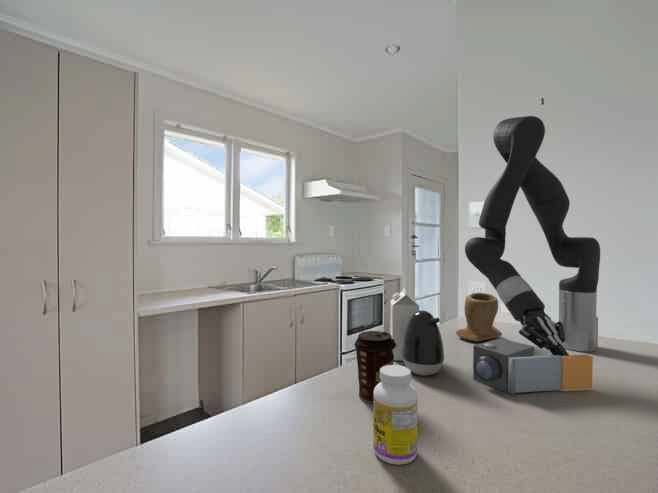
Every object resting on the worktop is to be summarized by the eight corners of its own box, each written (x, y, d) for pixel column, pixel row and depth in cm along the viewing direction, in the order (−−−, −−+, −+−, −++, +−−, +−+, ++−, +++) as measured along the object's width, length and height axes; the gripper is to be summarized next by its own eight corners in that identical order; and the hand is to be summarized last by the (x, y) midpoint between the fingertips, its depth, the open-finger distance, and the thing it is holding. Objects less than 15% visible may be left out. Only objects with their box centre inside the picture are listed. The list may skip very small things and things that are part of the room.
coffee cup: (399, 391, 74) (399, 331, 74) (393, 409, 66) (393, 342, 66) (359, 386, 77) (359, 328, 77) (349, 402, 69) (349, 338, 69)
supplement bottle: (369, 441, 56) (369, 362, 56) (409, 439, 57) (409, 361, 56) (378, 468, 49) (378, 379, 49) (423, 466, 50) (424, 378, 50)
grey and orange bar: (586, 386, 76) (587, 353, 76) (593, 389, 74) (593, 356, 74) (506, 391, 74) (506, 357, 73) (511, 394, 72) (512, 360, 72)
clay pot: (480, 347, 105) (480, 298, 105) (450, 337, 115) (450, 292, 115) (513, 340, 112) (513, 294, 111) (482, 331, 122) (482, 289, 122)
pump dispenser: (421, 383, 78) (422, 317, 78) (393, 368, 88) (393, 308, 87) (454, 375, 83) (454, 312, 83) (423, 361, 92) (424, 305, 92)
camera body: (500, 369, 87) (500, 336, 86) (533, 381, 80) (534, 344, 80) (465, 382, 79) (466, 345, 79) (498, 395, 72) (499, 355, 72)
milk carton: (415, 353, 99) (415, 287, 99) (419, 361, 92) (419, 291, 92) (390, 352, 100) (390, 286, 100) (392, 361, 93) (392, 290, 93)
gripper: (527, 305, 92) (573, 366, 81) (490, 308, 87) (534, 374, 76) (547, 288, 87) (599, 351, 76) (509, 290, 82) (559, 358, 71)
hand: (566, 362), depth 76 cm, fingers closed
